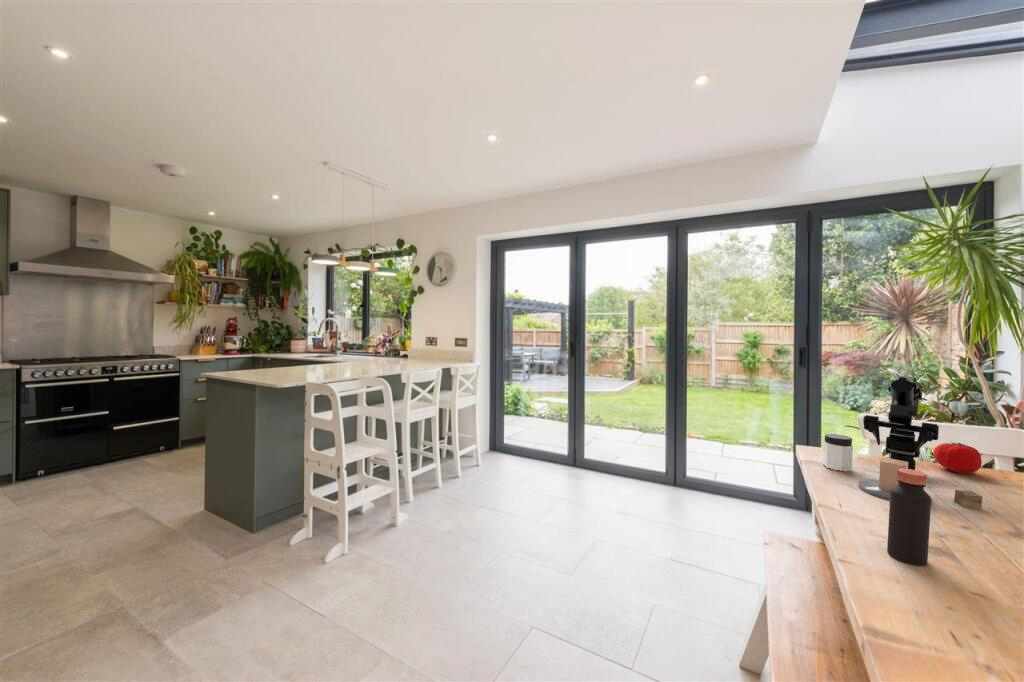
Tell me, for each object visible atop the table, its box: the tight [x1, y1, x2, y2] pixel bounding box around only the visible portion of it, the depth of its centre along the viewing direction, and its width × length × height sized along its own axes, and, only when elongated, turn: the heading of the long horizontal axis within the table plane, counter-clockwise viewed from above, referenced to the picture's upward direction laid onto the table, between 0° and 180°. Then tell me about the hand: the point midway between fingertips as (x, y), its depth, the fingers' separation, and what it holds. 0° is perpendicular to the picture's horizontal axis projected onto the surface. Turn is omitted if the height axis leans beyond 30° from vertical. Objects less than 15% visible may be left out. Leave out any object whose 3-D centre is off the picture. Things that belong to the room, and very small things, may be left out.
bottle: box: [886, 468, 932, 566], centre depth 96 cm, size 7×7×20 cm
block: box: [953, 489, 983, 510], centre depth 126 cm, size 4×4×4 cm
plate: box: [857, 478, 890, 501], centre depth 135 cm, size 17×17×1 cm
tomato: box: [932, 441, 983, 474], centre depth 157 cm, size 13×12×11 cm
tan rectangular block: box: [878, 456, 908, 491], centre depth 134 cm, size 6×6×9 cm
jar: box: [821, 433, 854, 472], centre depth 158 cm, size 9×8×12 cm
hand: (897, 447), depth 139 cm, fingers open, 9 cm apart
